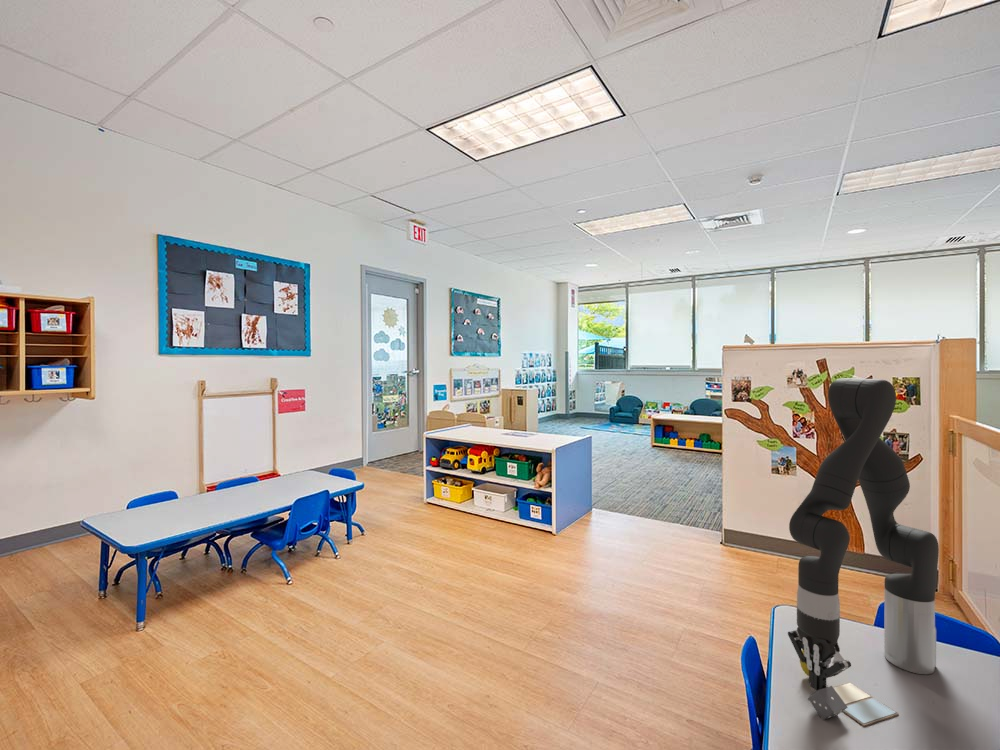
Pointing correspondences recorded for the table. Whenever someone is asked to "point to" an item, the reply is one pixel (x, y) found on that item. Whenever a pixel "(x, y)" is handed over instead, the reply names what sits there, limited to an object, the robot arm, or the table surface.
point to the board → (863, 705)
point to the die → (827, 702)
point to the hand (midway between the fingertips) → (817, 688)
